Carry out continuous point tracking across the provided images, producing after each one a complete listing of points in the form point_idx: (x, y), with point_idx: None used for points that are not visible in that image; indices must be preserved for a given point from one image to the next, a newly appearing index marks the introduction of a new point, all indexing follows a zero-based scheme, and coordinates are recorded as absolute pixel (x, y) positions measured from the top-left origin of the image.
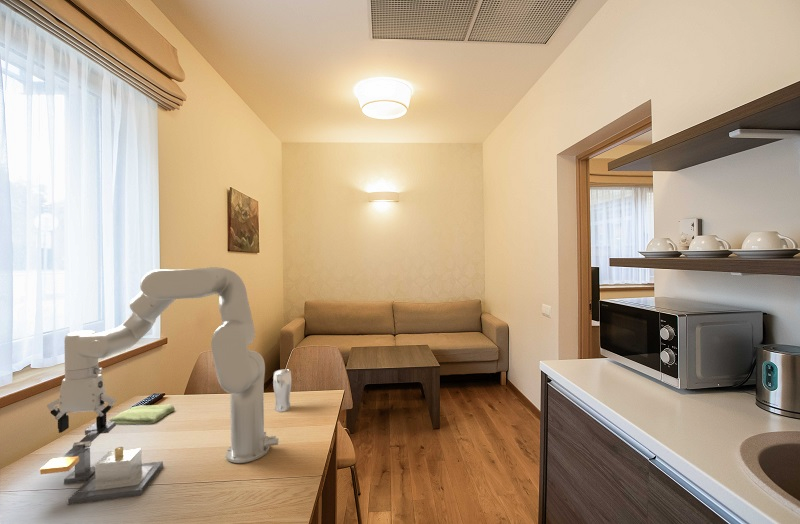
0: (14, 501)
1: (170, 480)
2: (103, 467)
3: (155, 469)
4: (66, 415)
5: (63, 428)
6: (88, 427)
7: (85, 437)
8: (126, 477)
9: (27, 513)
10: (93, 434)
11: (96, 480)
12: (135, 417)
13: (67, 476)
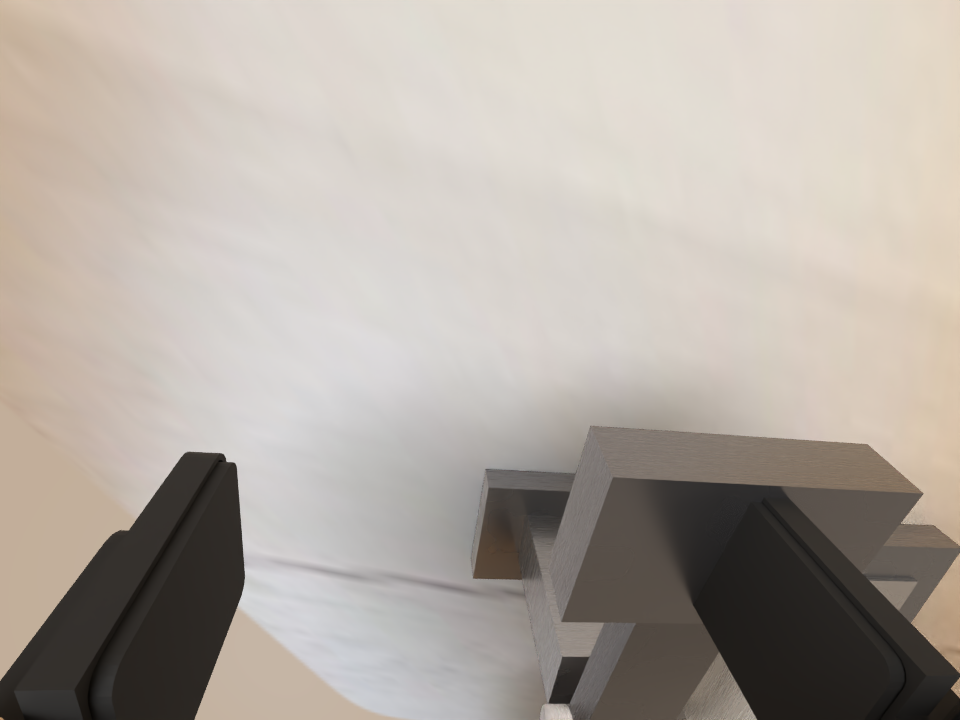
0: (307, 635)
1: (940, 632)
2: None
3: (916, 608)
4: (44, 703)
5: (226, 594)
6: (583, 571)
7: (613, 702)
8: None
9: (434, 708)
10: (678, 674)
11: (689, 716)
12: None
13: (478, 557)
